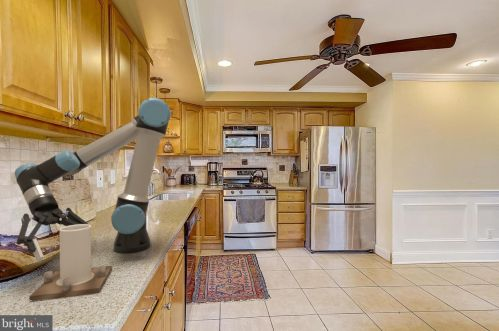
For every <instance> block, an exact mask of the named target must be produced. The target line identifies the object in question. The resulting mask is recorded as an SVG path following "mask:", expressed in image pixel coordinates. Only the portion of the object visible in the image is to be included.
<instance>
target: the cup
mask: <svg viewBox="0 0 499 331" xmlns="http://www.w3.org/2000/svg"><path fill="white" fill-rule="evenodd" d="M91 268H92V225H91V224H90V223H88V224H78V225H70V226H62V227H60V228H59V271H60V282H61V283H63V280H64V279H66V278H71V283H77V282H81V281H84V280H86V279H88V278H89V277H91Z"/></svg>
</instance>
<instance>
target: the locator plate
mask: <svg viewBox="0 0 499 331" xmlns="http://www.w3.org/2000/svg"><path fill="white" fill-rule="evenodd" d="M112 271H113V266H112V265H100V266H95V267H91V277H89V278H88V279H86V280H84V281H81V282H77V283H71V278H66V279H64V280H63V283H61V282H60V270H58V271H54V273H53V271H52V270H47V271H45V272H44V274H43V277H44V280H43V281H44V282H43V283H42V284H41V285H40V286H39V287H37V288H36V289H35V290H34V291H33V292H32V293H31V294H30V295H29V298H28V299H29V301H30V300H40V301H43V300H42V299H48V300H53V299H52V298H55V299H61V297H63V298H69V297H77V296H79V297H80V296H85V295H86V296H87V295H95V294H99V293H101V291H102V289H103V286H104V285H105V283H106V282H107V279H108V278H109V276H110V274H111V273H112ZM110 272H111V273H110ZM50 298H51V299H50Z"/></svg>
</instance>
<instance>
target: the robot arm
mask: <svg viewBox="0 0 499 331" xmlns="http://www.w3.org/2000/svg"><path fill="white" fill-rule="evenodd" d="M171 116H172V112H171V109H170V107H169V105H168V104H167V103H166V101H164V100H162V99H161V98H158V97H150V98H147V99H145V100H143V101H142V102H141V104H140V105H139V107H138V115H136V116H134V117H133V118H132V120H131V121H130V122H129V123H126V124H124V125H123V126H121V127H119V128H117V129H116V130H113V131H112V132H110V133H108V134H106V135H104V136H102V137H100V138H98V139H96V140H95V141H93V142H91V143H89V144H87V145H85V146H83V147H81V148H79V149H78V150H76V151H74V152H71V151H70V150H69V149H67V150H64V151H61V152H58V153H57V154H56V155H54V156H52V157H50V158H49V159H47V160H45V161H42V162H41V163H40V164H36V163H30V162H29V163H26V164H22V165H20V166H18V167H17V168H16V169H15V170H14V177H15V180H16V181H15V182H16V183H17V185H18V186H19V188H20V191H21V193H22V194H23V197H24V200H25V202H26V204H27V207H28V209H29V211H30V214H29V213H24V214H23V215H22V217H21V219H20V221H21V226H20V230H19V234H18V237H17V240H16V245H21V244H22V245H23V246H24V247H26V248H27V250H28V252H29V253H30V254H32V253H33V256H34V258H35V260H36V262H37V263H41V262H42V260H43V259H44V257H45V256H44V254H43V252H42V249H41V247H40V245H39V242H38V240H37V238H34V237H35V236H36V234H37V233H38V231H39V229H40V228H41V227H42V226H46V227H48V226H50V225H56V224H58V225H61V226H62V225H63V227H65V226H70V225H78V224H89V223H88V222H87V221H86V220H84V219H83V218H81V217H80V216H79V215H77V214H76V213H75V212H74V211H73V210H72V208H71V207H67V208H65V209H63V210H62V209H60V207H59V203H58V202H57V200H56V198H55V195H54V194H53V192H52V189H51V187H50V184H51V183H53V182H55V181H56V180H58V179H60V178H62V177H64V176H68V175H69V176H71V175H77V174H78V173H80V172H81V171H82V170H85V168H87V167H89V166H91V165H92V164H94V163H96V162H98V161H100V160H101V159H103V158H105V157H107V156H109V155H111V154H112V153H115V152H116V151H118V150H119V149H122V148H123V147H125V146H127V145H130V143H132V142H135V141H136V143H135V146H134V150H133V154H132V157H131V162H130V166H129V170H128V173H127V176H126V182H125V185H124V189H123V192H121V193H120V194H118V196H117V200H116V204H115V208H114V210H113V212H112V213H111V217H110V220H111V225H112V227H113V228H114V230H115V231H116V232H117V233H116V237H115V240H114V242H113V251H114V252H115V253H120V254H123V253H124V254H127V253H128V254H130V253H131V254H132V253H137V252H141V251H143V250H144V251H145V250H147V249H148V248H150V247H151V238H150V236H149V233H148V230H147V211H148V208H149V203H150V200H149V198H148V197H147V196H148V191H149V188H150V182H151V180H152V175H153V171H154V167H155V163H156V159H157V154H158V150H159V146H160V142H161V139H163V138H164V137H166V135H167V134H166V133H167V129H168V126H169V122H170V119H171ZM31 220H33V221H34V222H36V224H35V226H34V228H33V229H32V231H30V234H29V235H28V236H27V237H26V233H27V230H28V227H29V223H30V222H31Z"/></svg>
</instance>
